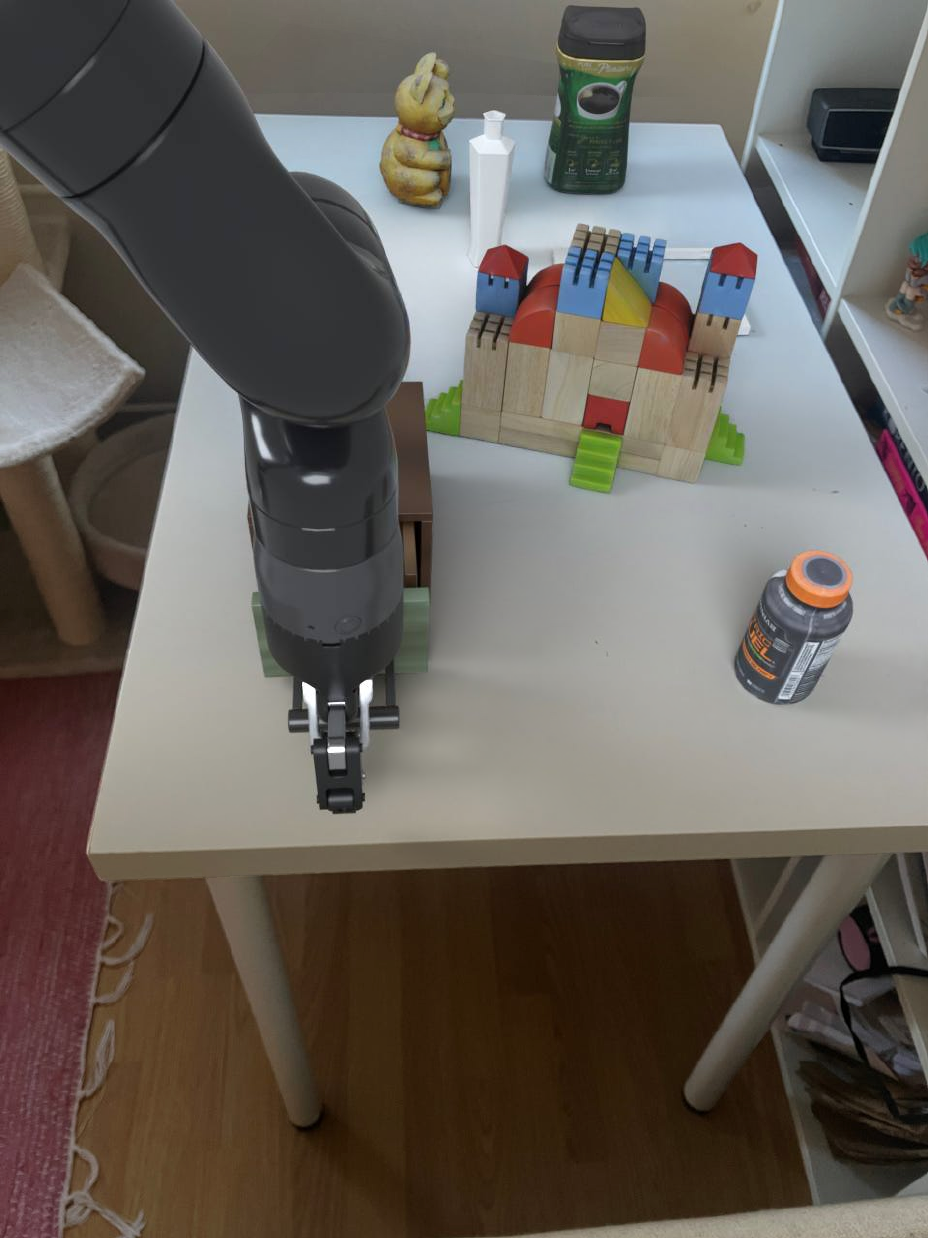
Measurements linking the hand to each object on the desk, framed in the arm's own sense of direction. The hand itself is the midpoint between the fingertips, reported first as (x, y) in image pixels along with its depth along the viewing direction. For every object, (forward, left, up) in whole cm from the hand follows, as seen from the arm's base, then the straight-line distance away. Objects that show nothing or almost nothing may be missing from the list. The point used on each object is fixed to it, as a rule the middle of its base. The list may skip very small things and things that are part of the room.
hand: (344, 747), depth 65 cm
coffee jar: (+28, +80, -3) cm, 84 cm away
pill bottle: (+31, +7, -3) cm, 32 cm away
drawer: (0, +10, -2) cm, 11 cm away
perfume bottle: (+15, +63, -3) cm, 64 cm away
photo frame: (+31, +56, -3) cm, 64 cm away
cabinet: (0, +22, -3) cm, 22 cm away
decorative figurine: (+8, +76, -3) cm, 76 cm away
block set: (+21, +34, -3) cm, 40 cm away
